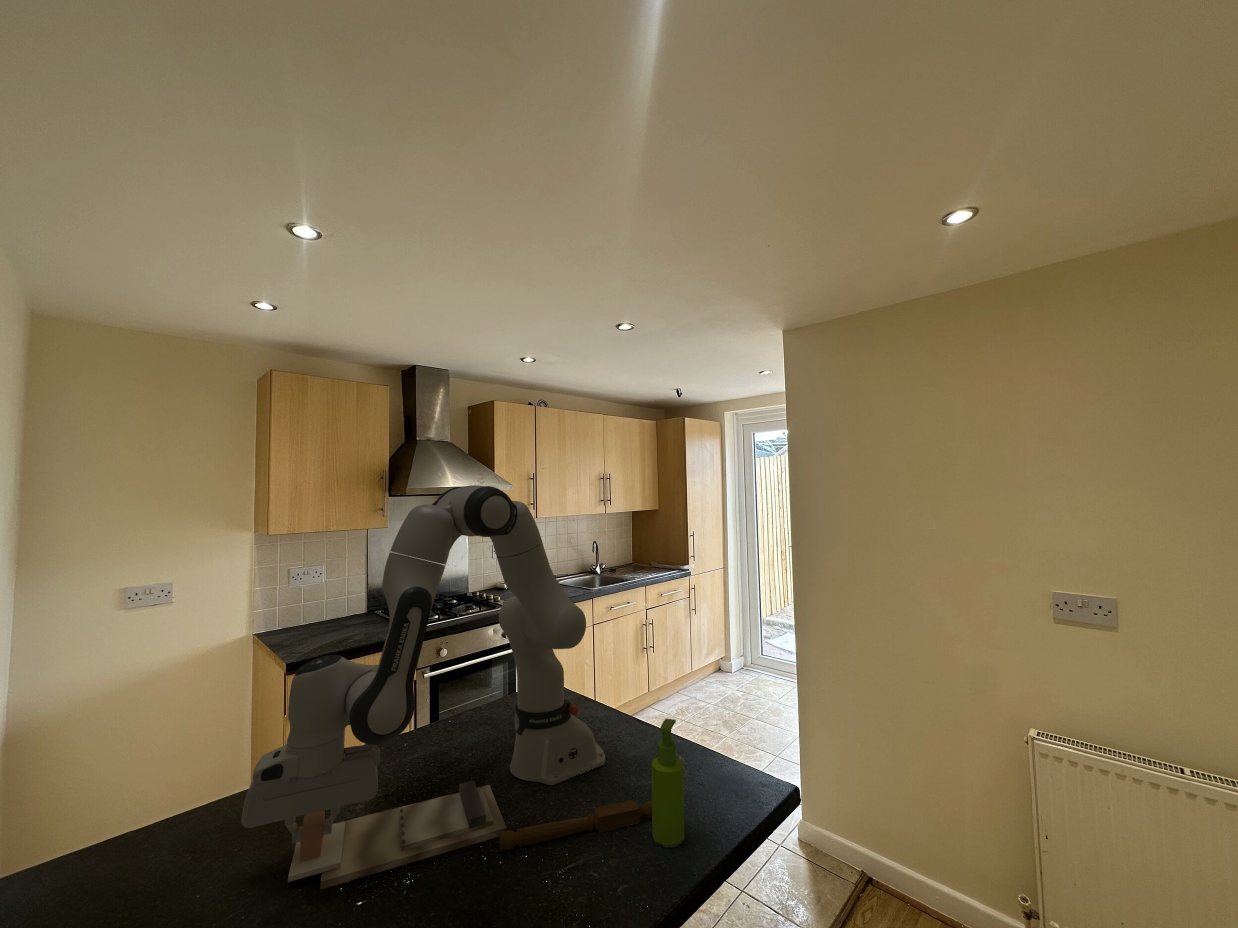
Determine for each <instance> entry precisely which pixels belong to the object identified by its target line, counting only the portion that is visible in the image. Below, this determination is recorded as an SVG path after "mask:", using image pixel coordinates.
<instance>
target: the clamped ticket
mask: <svg viewBox="0 0 1238 928" xmlns="http://www.w3.org/2000/svg"><path fill="white" fill-rule="evenodd" d="M475 782H476V781H475V780H472V781H467V782H464V783H463V782H462V783H459V785H458V786H459V787H458V792H456V793H451V794H447V795H442V796H439V797H436V798H432V799H427V800H424V801H420V802H416V803H412V804H408V805H403V806H399V807H395V808H391V809H387V810H382V811H379V812H375V813H374V812H373V813H372V814H371V813H370V814H367V815H363V816H359V817H355V818H351V819H348V820H343V821H339V822H333V824H337V823H341V822H345V830H344V839H343V849H342V858H341V867H340V868H336V869H332V870H329V871H325V872H322V873H321V877H320V888H319V889H320V890H324V889H327V888H330V887H331V888H332V887H334V886H337V885H341V884H343V883H344V884H345V883H347V882H351V881H354V880H357V879H360V878H364V877H368V876H371V875H374V874H378V873H381V872H384V871H387V870H391V869H394V868H399V867H401V866H404V865H408V864H411V863H414V862H418V861H421V860H424V859H428V858H431V857H434V856H439V855H442V854H445V853H448V852H451V851H452V852H453V851H455V850H458V849H462V848H464V847H469V846H472V845H474V844H475V845H476V844H479V843H481V842H484V841H485V842H486V841H489V840H492V839H496V838H499V834H500V833H501V832H503V833H505V832H506V831H507V826H506V823H505V821H504V818H503V815H502V814H501V811H500V809H499V805H498V803H497V801H496V799H495V795H494V793H493V791H492V788H491V785H490V784H487V785H483V786H480V787H479V786H478V787H477V785H476V783H475Z"/></svg>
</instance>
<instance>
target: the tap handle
mask: <svg viewBox="0 0 1238 928" xmlns="http://www.w3.org/2000/svg"><path fill="white" fill-rule="evenodd" d="M644 817H645V818H646V817H647V818H646V819H652V800H647V801H646V802H643V804H642V805H641V804H640V803H638V801H636V800H634V799H631V800H626V801H620V802H617V803H611V804H607V805H603V806H597V807H596V808H595V809H594V812H593V813H592V814H591V813H587V815H586V816H582V817H578V818H570V819H566V820H559V821H552V822H548V823H546V822H545V823H541V824H535V825H529V826H526V827H523V828H521V827H519V828H518V830H517V831H514V830H506V832H505V833H503V832H501V833H500V834H499V837H498V841H499V842H498V845H499V851H500V852H504V851H511V850H513V849H514V848H515V847H516V846H519V847H520V848H523V847H524V846H525V847H528V846H533V845H536V844H539V843H543V842H548V841H550V840H554V839H558V838H563V837H566V836H569V835H573V834H576V833H580V832H584V831H589V832H592V831H593V830H594V831H596V832H598V831H599V832H598V833H600V832H601V833H603V832H602V831H605V830H610V831H612V830H611V829H614V828H618V827H622V826H627V825H631V824H634V823H638V822H640V823H641V820H642V819H643V818H644ZM614 830H615V829H614ZM605 832H606V831H605Z"/></svg>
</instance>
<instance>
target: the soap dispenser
mask: <svg viewBox="0 0 1238 928" xmlns="http://www.w3.org/2000/svg"><path fill="white" fill-rule="evenodd" d="M676 721H677V720H676V719H674V718H673V719H672V718H665V719H664V720H663V721H662V724H661V726H660V728H659V732H660V733H661V739H662V740H659V741H658V742H657V757H655V758H653V760H652V761H651V763H650V765H651V766H650V767H651V769H650V770H651V802H652V818H651V819H652V821H651V823H652V824H651V827H652V829H651V830H652V831H651V832H652V833H651V835H652V836H653V838H654V840H655V841H656V842H658V843H660V844H663V845H674V844H678V843H679V842H681V841H682V840H683V839H684V840H685V803H684V802H685V800H684V799H685V798H684V791H685V790H684V764H683V761H682V760H681V759H679V758H678V757H677V745H676V742H675V741H673V740H672V729H673V727H674V725H675V724H676ZM653 838H652V839H653Z"/></svg>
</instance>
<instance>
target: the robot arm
mask: <svg viewBox="0 0 1238 928" xmlns="http://www.w3.org/2000/svg"><path fill="white" fill-rule="evenodd" d="M462 536H464V537H482V538H490V540H491V543H492V546H493V549H494V553H495V557H496V559H497V562H498V565H499V569H500V572H501V576H502V578H503V582H504V584H505V586H506V588H507V589H508V591H510V592H511V593H512V594H513V596H511V597H509V598H507V599H506V600H505V601H504V602H503V604H502V605H501V608H500V609H499V613H498V623H499V626H500V629H501V630H502V631H503V632H504V634H505V636H506V638H507V640H508V642H509V646H510V649H511V651H512V656H513V659H514V664H515V669H516V681H517V682H516V683H517V685H516V686H517V692H516V693H517V701H516V704H515V712H514V729H515V741H514V749H513V753H512V758H511V761H510V763H509V771H510V773H511V774H512V775H513V776H514V777H516V778H518V779H520V780H523V781H529V782H537V783H541V784H544V785H548V786H554V785H556V784H560V783H562V782H564V781H567V780H569V778H570V779H572V778H574V776H575V777H577V776H579V775H578V774H580V775H582V774H585V773H587V772H589V770H590V771H592V770H595V769H597V768H596V767H598V768H600V767H602V766H604V765H605V764H606V754H605V752H604V750H603V749H602V747H601V746H600V745H599V744H598V743H597V742H596V740H595V736H594V733H593V732H592V730H591V728H590V727H589V726H588V725H587V724H586V723H585V722H583V721H582V720H580V719H579V718H577V717H576V715H578V713H579V710H580V709H579V708H578V706H576V704H574V703H572V702H571V701H569V700H568V699H566V698H565V670H564V667H563V664H562V663H561V661H560V660H559V659H558V657H557V656H556V654H555V651H554V650H569V649H573V648H575V647H576V646H578V645H579V644H580V643H581V642H582V640H583V638H584V636H585V633H586V629H587V620H586V619H587V618H586V615H585V612H584V611H583V610H582V609H581V608H580V607H579V606H578V605H577V604H575V603H574V602H573V601H572V600H571V599H570V598H569V596H568V595H567V593H566V592H565V590H564V588H562V586H561V584H560V583H559V580H558V579H557V577H556V576H555V575H554V573H553V570H552V567H551V565H550V563H549V559H548V555H547V553H546V552H547V551H546V549H545V546H544V543H543V539H542V537H541V532H540V530H539V528H538V525H537V523H536V520H535V518H534V517H533V514H532V512H531V509H530V508H529V507H528V505H527V504H526V503H524V502H522V501H518V500H512V499H511V498H510V496H509V495H508V494H507V493H506V492H504V491H503V490H502V489H499V488H497V487H494V486H490V485H489V486H488V485H487V486H484V485H479V484H478V485H475V484H474V485H472V484H471V485H467V486H456V487H455V486H454V487H453V488H450V489H447V490H446V491H444V492H443V493H441V495H439V496H438V498H437V499H436V500H435V501H434V502H433V503H432V504H421V505H417V506H415V507H413V508H412V509H411V510H410V511H409V512H408V513H407V515H406V517H405V519H404V521H403V522H402V524H401V526H400V528H399V530H398V531H397V533H396V536H395V538H394V540H393V542H392V544H391V545H392V546H391V549H390V551H389V554H388V555H387V559H386V562H385V566H384V571H383V575H382V584H381V587H382V590H383V595H384V597H385V600H386V604H387V607H388V612H389V624H388V631H387V634H386V637H385V641H384V644H383V647H382V651H381V654H380V658H379V660H378V661H379V662H378V664H364V663H358V662H354V661H352V660H349V659H347V658H345V657H344V656H341V655H339V654H332V655H331V654H330V655H324V656H320V657H317V658H314V659H312V660H310V661H307V662H306V663H304V664H303V665H301V666H300V667H299V668H298V669H297V670H296V671H295V673H294V674H293V677H292V681H291V684H290V689H289V696H288V698H289V699H288V710H287V719H288V723H289V733H288V736H287V738H286V739H287V740H286V744H284V745H282V746H280V747H278V748H275V749H273V750H271V751H269V752H267V753H265V754H263V755H262V756H261V757H260V758H259V760H257V763H256V764H255V767H254V770H253V773H252V781H251V783H250V785H249V787H248V790H247V792H246V794H245V797H244V803H243V808H242V813H241V824H242V826H243V827H245V828H246V829H251V828H255V827H259V826H262V825H268V824H272V823H276V822H281V821H285V822H284V826H285V828H286V829H287V830H288V831H289V833H290V834H291V835H292V837H291V844H296V843H297V842H300V841H301V828H302V825H300V826H299V825H298V824H297V822H296V820H297V819H296V818H297V817H302V816H305V815H306V814H311V813H315V812H319V811H323V810H325V811H327V810H330V816H329V817H328V819H325V820H324V821H323V827H322V830H323V832H322V836H323V835H327V834H331V833H332V827H333V824H334V823H335V821H336V819H337V817H338V815H339V813H340V810H341V807H344V806H349V805H353V804H358V803H362V802H365V801H369V800H373V799H374V797H375V796H376V795H377V794H378V789H379V785H378V781H379V780H378V766H379V764H380V763H381V752H382V751H381V748H380V747H379V746H378V745H382V744H385V743H388V742H390V741H393V740H394V739H396V738H398V736H400V735H401V734H402V733H403V732H404V731H405V730H406V728H407V727H408V726H409V724H410V723H411V721H412V719H413V716H414V713H415V709H416V708H415V706H416V705H415V703H416V702H415V701H416V700H415V691H414V682H415V681H414V680H415V675H416V671H417V667H418V663H419V660H420V659H419V658H420V655H421V651H422V647H423V644H424V641H425V636H426V632H427V629H428V625H429V620H430V616H431V612H432V608H433V606H434V602H435V599H436V595H437V593H438V590H439V586H440V583H441V581H442V578H443V575H444V573H445V569H446V565H447V563H448V562H447V561H448V559H449V556H450V553H451V552H450V551H451V549H452V547H453V546H454V544H455V542H456V541H457V540H458V539H459V538H460V537H462ZM348 726H350V730H351V733H352V735H353V736H354V738H355V739H356V740H357V741H359V742H360V743H363V744H362V745H361V744H360V745H352V746H347V747H346V746H345V741H346V740H345V739H346V738H345V735H346V728H347V727H348ZM604 763H605V764H604ZM603 764H604V765H603ZM601 765H602V766H601ZM599 766H600V767H599ZM594 768H595V769H594ZM591 769H592V770H591ZM586 771H587V772H586ZM584 772H585V773H584ZM576 775H577V776H576ZM571 777H572V778H571Z"/></svg>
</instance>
